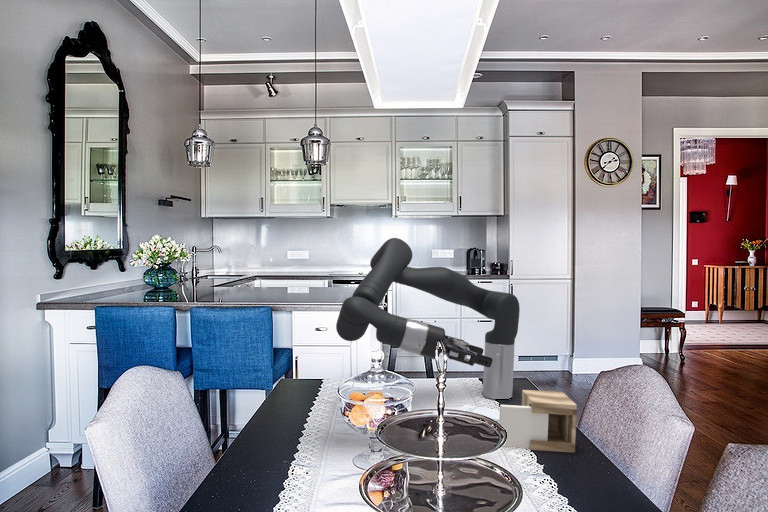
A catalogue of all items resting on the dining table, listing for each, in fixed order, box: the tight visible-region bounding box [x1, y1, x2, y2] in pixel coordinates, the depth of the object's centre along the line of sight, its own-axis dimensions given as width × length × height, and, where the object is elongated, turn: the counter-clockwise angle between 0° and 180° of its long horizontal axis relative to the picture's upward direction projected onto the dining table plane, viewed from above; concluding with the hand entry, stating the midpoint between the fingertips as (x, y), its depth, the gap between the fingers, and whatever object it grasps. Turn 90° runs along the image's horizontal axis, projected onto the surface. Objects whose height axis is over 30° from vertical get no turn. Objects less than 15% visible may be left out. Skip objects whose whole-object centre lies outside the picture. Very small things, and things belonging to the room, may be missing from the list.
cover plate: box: [498, 404, 549, 449], centre depth 119 cm, size 2×11×9 cm, turn 87°
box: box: [520, 389, 578, 453], centre depth 123 cm, size 11×10×11 cm
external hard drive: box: [457, 404, 500, 422], centre depth 142 cm, size 2×8×12 cm
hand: (486, 357), depth 119 cm, fingers open, 8 cm apart
